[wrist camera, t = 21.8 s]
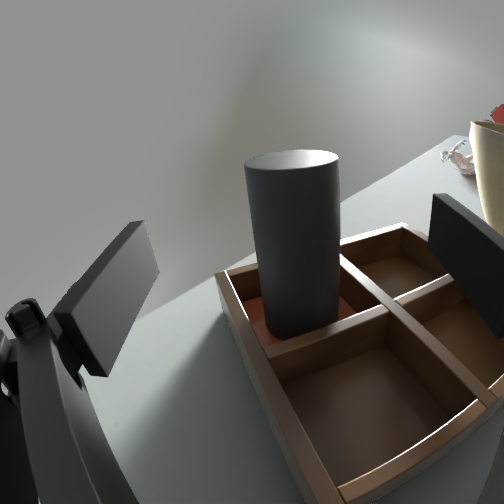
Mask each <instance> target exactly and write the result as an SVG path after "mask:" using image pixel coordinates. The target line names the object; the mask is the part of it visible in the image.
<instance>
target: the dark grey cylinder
mask: <svg viewBox="0 0 504 504" xmlns="http://www.w3.org/2000/svg"><path fill="white" fill-rule="evenodd" d="M244 169H245V176H246V184H247V191H248V198H249V204H250V212H251V219H252V227H253V234H254V241H255V249H256V256H257V263H258V271H259V278H260V285H261V293H262V300H263V307H264V315H265V322H266V326H267V329H268V330H269V332H270V333H271V334H272V335H273V336H274V337H276V338H277V339H279V340H281V341H284V340H287V339H290V338H293V337H296V336H299V335H302V334H305V333H308V332H311V331H314V330H316V329H319V328H322V327H325V326H327V325H330V324H333V323H335V322H338V311H339V287H340V182H339V160H338V156H337V155H335V154H333V153H330V152H325V151H319V150H290V151H289V150H288V151H279V152H273V153H267V154H264V155H260V156H256V157H253V158H251V159H249V160H247V161H246V162H245V163H244Z"/></svg>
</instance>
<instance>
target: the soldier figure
mask: <svg viewBox="0 0 504 504" xmlns="http://www.w3.org/2000/svg"><path fill="white" fill-rule="evenodd" d="M463 142H465V140H463V141H461V142H460V143H458V144H457V145H456V146H455V147H454V148H453V149H452V150H450V151H444V152H441V153H440V155H441V159H442V162H443V163H444V162H445V161H446V160H447V158H448V159H449V160H450V162H451V164H452V166H453V167H454V168H456V169H457V170H458V171H459V172H461V173H467V174H469V173H471V174H473V173H474V171H475V165H474V164H472V163H470V162H472V161H474V157H473V154H472V155H469V156H467V157H464V156H463V155H462V154H460V153H456V151H457V150H458V149H459V147H460V146H461V144H464V143H463ZM475 174H476V172H475ZM473 175H474V174H473Z"/></svg>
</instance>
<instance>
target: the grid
mask: <svg viewBox="0 0 504 504" xmlns="http://www.w3.org/2000/svg"><path fill="white" fill-rule="evenodd" d="M428 237H429V236H427V235H425V234H423V233H422V232H420V231H418V230H416V229H415V228H413V227H411V226H409V225H408V224H406V223H404V222H403V223H399V224H396V225H393V226H389V227H386V228H382V229H379V230H375V231H372V232H368V233H364V234H361V235H357V236H354V237H350V238H346V239H343V240H340V287H339V311H338V322H335V323H333V324H330V325H327V326H325V327H322V328H319V329H316V330H314V331H311V332H308V333H305V334H302V335H299V336H296V337H293V338H290V339H287V340H284V341H281V340H279V339H277V338H276V337H274V336H273V335H272V334H271V333H270V332H269V330H268V329H267V326H266V322H265V315H264V307H263V300H262V293H261V285H260V278H259V271H258V263H254V264H250V265H246V266H243V267H239V268H235V269H231V270H228V271H224V272H220V273H216V274H215V279H216V283H217V288H218V292H219V296H220V301H221V305H222V309H223V312H224V314H225V317H226V320H227V322H228V325H229V327H230V330H231V332H232V335H233V338H234V340H235V343H236V345H237V348H238V350H239V353H240V355H241V358H242V360H243V363H244V365H245V367H246V370H247V372H248V375H249V377H250V380H251V382H252V384H253V387H254V389H255V392H256V394H257V396H258V399H259V401H260V403H261V406H262V408H263V410H264V413H265V415H266V417H267V420H268V422H269V424H270V426H271V429H272V431H273V433H274V436H275V438H276V440H277V442H278V444H279V447H280V449H281V451H282V453H283V455H284V458H285V460H286V462H287V464H288V466H289V468H290V471H291V473H292V475H293V477H294V479H295V481H296V483H297V485H298V488H299V490H300V492H301V494H302V496H303V498H304V500H305V502H306V504H369V503H371V502H373V501H375V500H377V499H379V498H381V497H382V496H384V495H386V494H388V493H389V492H391V491H393V490H395V489H396V488H398V487H400V486H401V485H403V484H404V483H406V482H408V481H409V480H411V479H412V478H414V477H415V476H417V475H418V474H420V473H421V472H423V471H424V470H426V469H427V468H429V467H430V466H432V465H433V464H434V463H436V462H437V461H438V460H440V459H441V458H442V457H444V456H445V455H446V454H448V453H449V452H450V451H452V450H453V449H454V448H455V447H457V446H458V445H459V444H460V443H462V442H463V441H464V440H465V439H466V438H468V437H469V436H470V435H471V434H472V433H473V432H475V431H476V430H477V429H478V428H479V427H480V426H481V425H482V424H484V423H485V422H486V421H487V420H488V419H489V418H490V417H491V416H492V415H493V414H494V413H495V412H496V411H497V410H498V409H499V408H500V407H501V406H502V405H503V404H504V338H501V339H498V340H497V339H496V337H495V336H494V334H493V333H492V331H491V330H490V328H489V327H488V325H487V324H486V322H485V321H484V319H483V318H482V317H481V315H480V314H479V312H478V311H477V310H476V308H475V307H474V306H473V304H472V303H471V302H470V300H469V299H468V297H467V296H466V295H465V294H464V292H463V291H462V290H461V288H460V287H459V286H458V284H457V283H456V282H455V281H454V279H453V278H452V277H451V276H450V274H449V273H448V272H447V271H446V269H445V268H444V267H443V266H442V265H441V263H440V262H439V261H438V260H437V259H436V257H435V256H434V255H433V254H432V253H431V252H430V250H429V249H428V248H427V244H428Z"/></svg>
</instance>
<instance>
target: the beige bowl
mask: <svg viewBox="0 0 504 504" xmlns="http://www.w3.org/2000/svg"><path fill="white" fill-rule="evenodd" d="M471 137H472V148H473V157H474V165H475V172H476V179H477V185H478V190H479V194H480V199H481V203H482V207H483V211H484V215H485V219H486V222H487V224H488V225H490V226H491V227H492V228H493V229H495V230H496V231H497V232H498V233H500V234H501V235H502V236H503V237H504V124H500V123H494V122H487V121H472V122H471Z"/></svg>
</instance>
